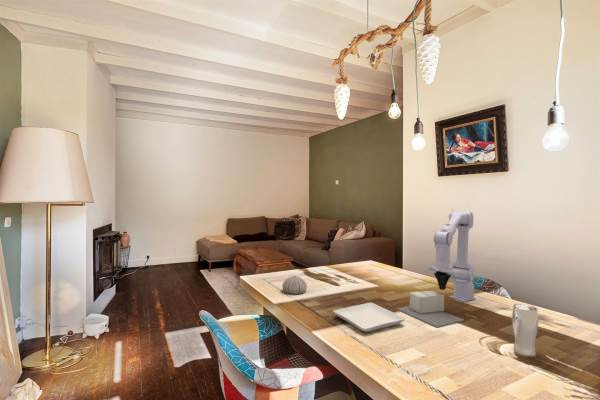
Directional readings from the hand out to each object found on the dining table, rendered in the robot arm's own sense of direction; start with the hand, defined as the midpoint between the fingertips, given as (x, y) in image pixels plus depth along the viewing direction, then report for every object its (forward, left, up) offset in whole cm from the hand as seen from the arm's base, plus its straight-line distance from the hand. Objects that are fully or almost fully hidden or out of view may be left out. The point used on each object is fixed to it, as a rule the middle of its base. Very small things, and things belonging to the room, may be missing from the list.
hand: (442, 289), depth 141 cm
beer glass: (+6, +37, -10) cm, 39 cm away
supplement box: (-1, -3, -6) cm, 7 cm away
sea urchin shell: (+46, -55, -10) cm, 73 cm away
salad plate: (+36, -6, -11) cm, 38 cm away
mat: (+8, 0, -10) cm, 13 cm away
